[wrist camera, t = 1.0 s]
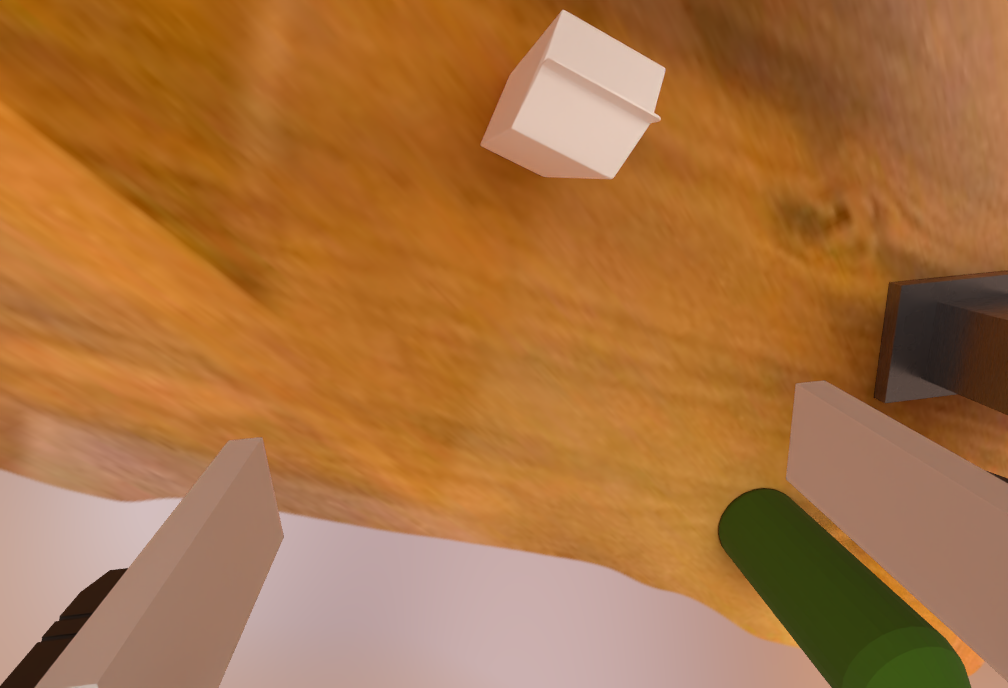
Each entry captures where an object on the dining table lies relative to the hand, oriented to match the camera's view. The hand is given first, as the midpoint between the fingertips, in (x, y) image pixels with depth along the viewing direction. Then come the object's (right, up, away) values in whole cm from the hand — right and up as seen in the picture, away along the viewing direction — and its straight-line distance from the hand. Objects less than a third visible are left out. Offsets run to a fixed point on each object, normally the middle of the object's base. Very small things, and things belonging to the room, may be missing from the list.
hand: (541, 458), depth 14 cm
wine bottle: (+26, -16, +47) cm, 56 cm away
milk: (+1, +21, +32) cm, 38 cm away
